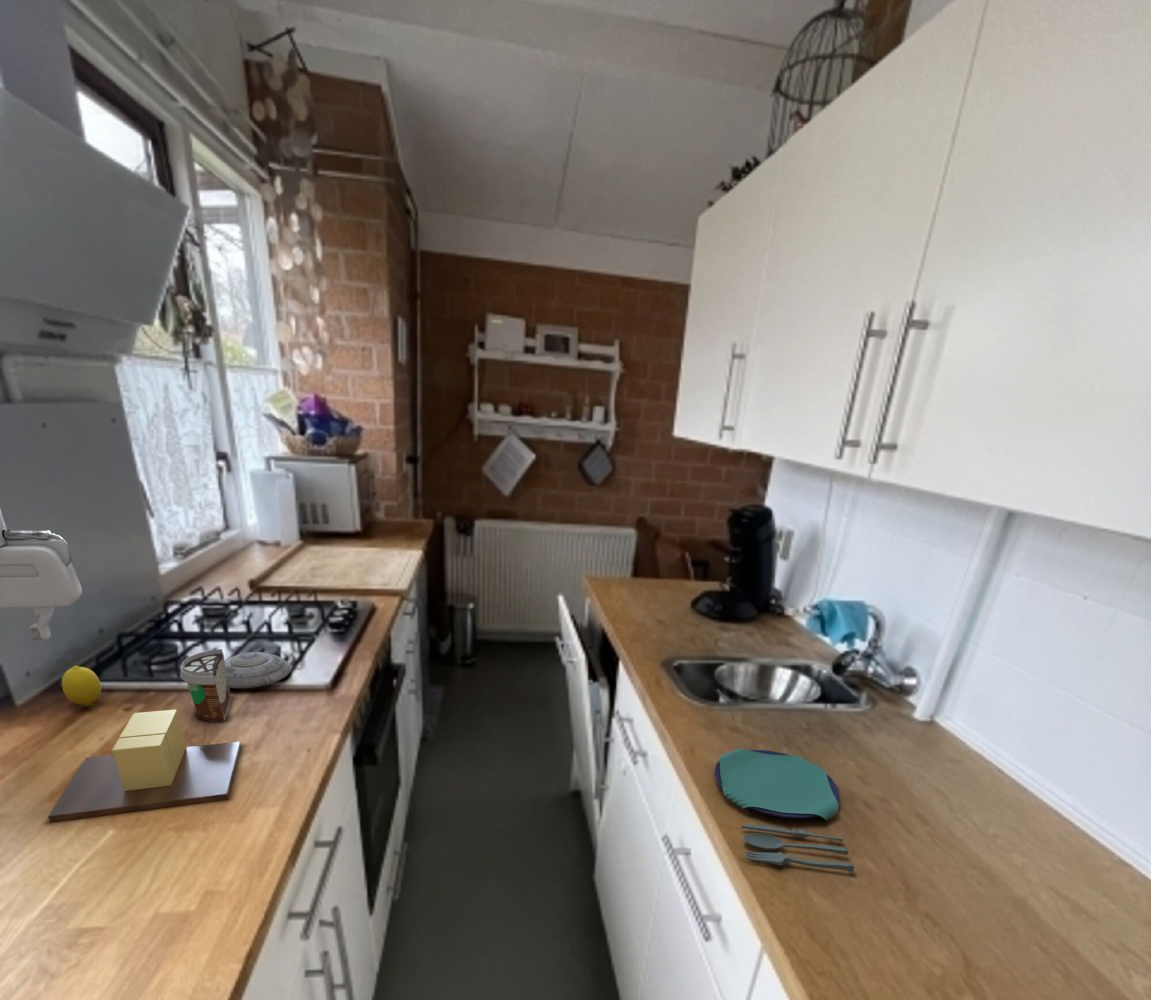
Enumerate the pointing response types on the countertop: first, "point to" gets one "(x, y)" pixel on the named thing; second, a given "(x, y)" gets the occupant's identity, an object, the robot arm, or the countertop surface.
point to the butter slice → (144, 762)
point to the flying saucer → (255, 669)
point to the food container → (208, 684)
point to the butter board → (103, 793)
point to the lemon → (81, 685)
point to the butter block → (159, 730)
